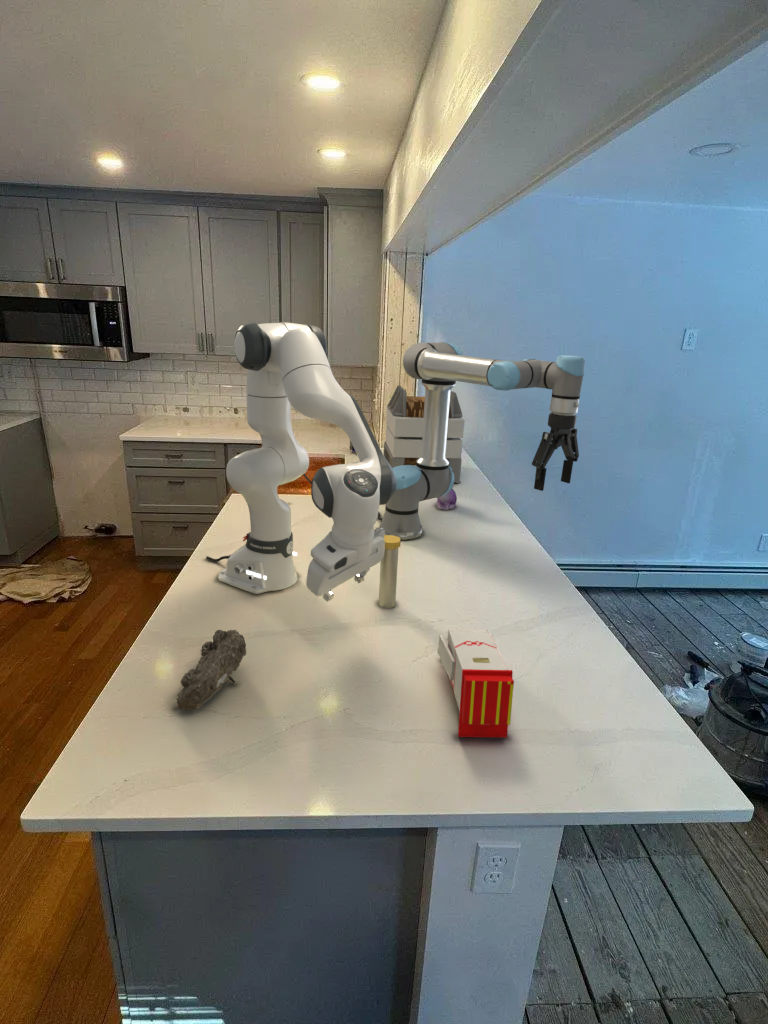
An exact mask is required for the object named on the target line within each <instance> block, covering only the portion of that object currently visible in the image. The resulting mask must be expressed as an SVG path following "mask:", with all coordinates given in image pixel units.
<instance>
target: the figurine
mask: <svg viewBox="0 0 768 1024" xmlns="http://www.w3.org/2000/svg"><path fill="white" fill-rule="evenodd" d="M453 488H454V486H453V487H452V489H451V490H450V491H449V492H448V493H447V494H445V495H443V496H441V497H438V498H436V504H435V506H436V508H438V510H443V511H446V510H447V511H448V510H452V509H455V507H456V505H457V501H458V499H457V494H456V491H455V490H454V489H453Z"/></svg>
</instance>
